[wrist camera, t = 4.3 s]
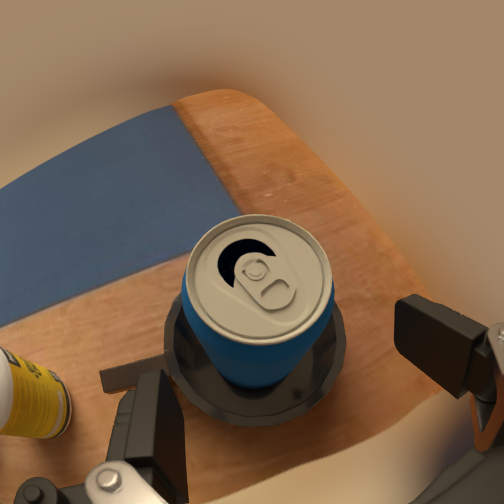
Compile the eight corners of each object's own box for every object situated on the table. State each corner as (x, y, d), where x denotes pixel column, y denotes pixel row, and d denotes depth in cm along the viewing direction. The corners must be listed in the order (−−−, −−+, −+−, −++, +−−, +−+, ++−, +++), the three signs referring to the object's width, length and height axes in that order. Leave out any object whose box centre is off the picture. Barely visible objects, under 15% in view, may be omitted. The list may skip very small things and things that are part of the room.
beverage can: (259, 293, 24) (267, 185, 14) (314, 352, 21) (374, 280, 11) (194, 341, 21) (145, 260, 11) (248, 407, 19) (247, 394, 9)
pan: (206, 445, 17) (197, 451, 14) (161, 306, 23) (147, 284, 20) (354, 386, 20) (374, 379, 16) (293, 262, 26) (299, 236, 22)
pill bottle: (85, 392, 19) (-17, 353, 9) (62, 453, 16) (-43, 446, 6) (36, 356, 20) (-54, 303, 10) (15, 412, 17) (-80, 381, 7)
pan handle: (125, 398, 19) (103, 393, 16) (120, 379, 20) (98, 370, 17) (183, 383, 20) (171, 375, 17) (177, 364, 21) (164, 352, 18)
